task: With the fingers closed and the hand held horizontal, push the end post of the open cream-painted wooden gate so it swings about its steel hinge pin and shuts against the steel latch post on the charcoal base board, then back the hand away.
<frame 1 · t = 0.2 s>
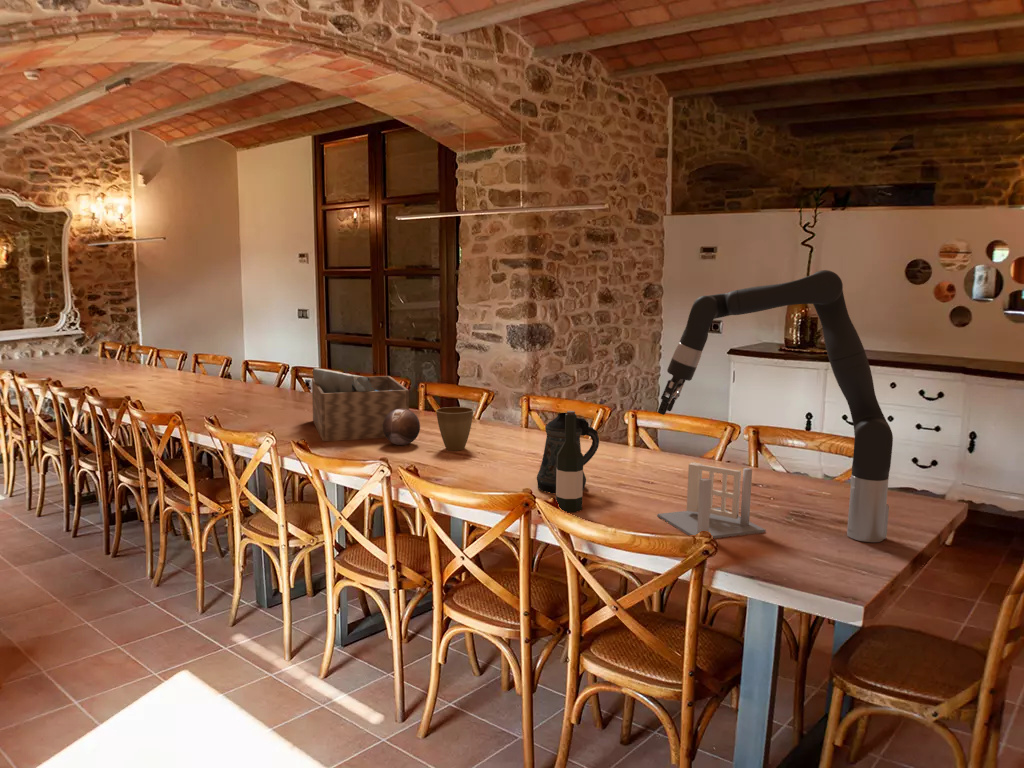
hand: (664, 411, 230), 31 cm above the table, tool tilted 20°, fingers open, 8 cm apart
gate: (713, 490, 227), point 9 cm above the table, hinge at -55.0°
wine bottle: (568, 509, 238), on the table
plant pot: (454, 449, 314), on the table
crate: (358, 428, 352), on the table
gate frame: (744, 527, 222), on the table
beer stein: (564, 487, 261), on the table
wooden sphere: (401, 445, 320), on the table
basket: (361, 427, 352), touching crate
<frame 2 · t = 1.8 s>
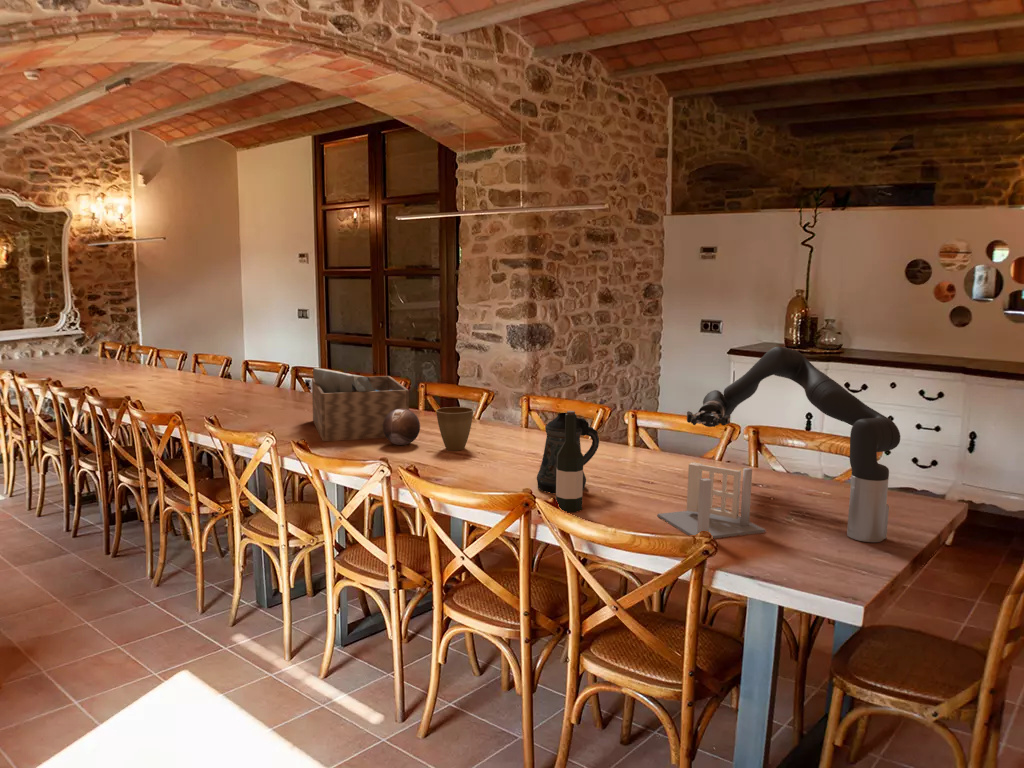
hand: (703, 422, 239), 26 cm above the table, tool horizontal, fingers open, 5 cm apart
nothing on the table moved.
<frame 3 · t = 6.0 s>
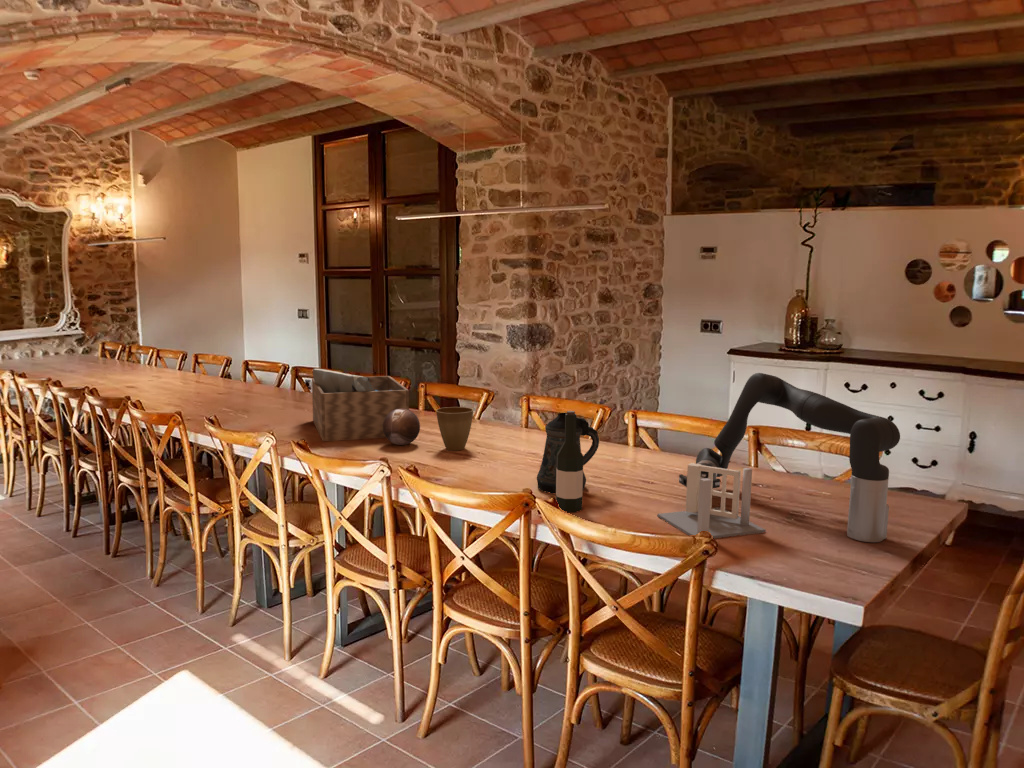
hand: (694, 488, 231), 8 cm above the table, tool horizontal, fingers closed
gate: (713, 491, 226), point 9 cm above the table, hinge at -51.8°, touching gripper
everything else where it was.
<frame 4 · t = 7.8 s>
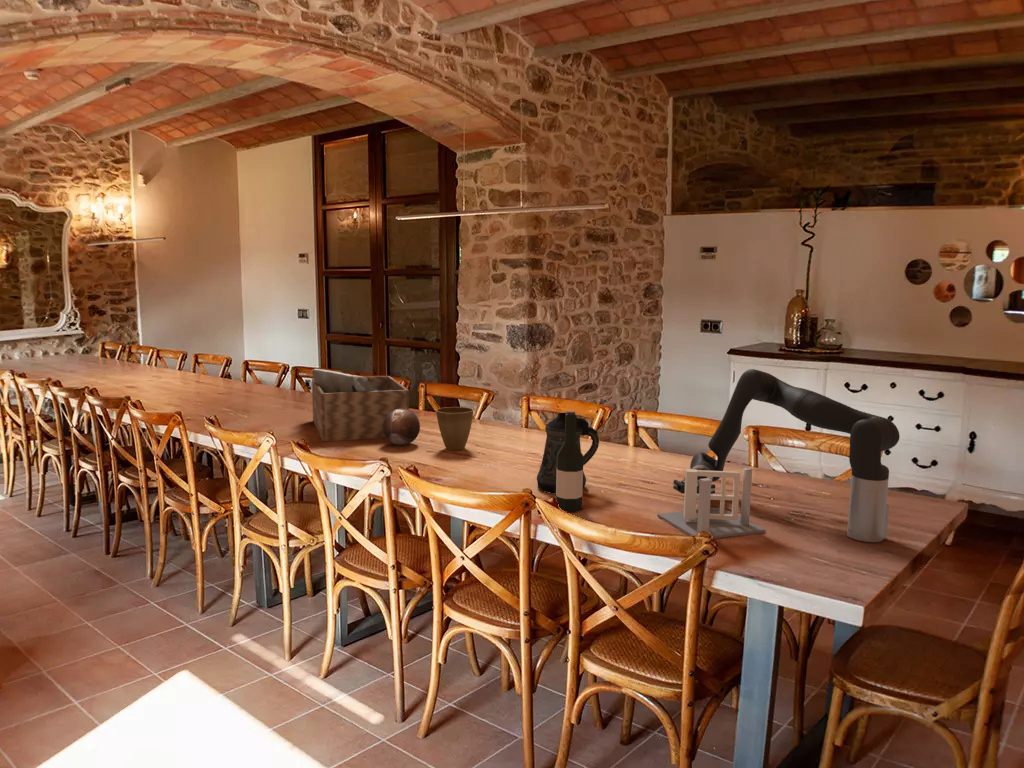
hand: (689, 494, 224), 8 cm above the table, tool horizontal, fingers closed
gate: (711, 495, 222), point 9 cm above the table, hinge at -25.1°, touching gripper
everything else where it was.
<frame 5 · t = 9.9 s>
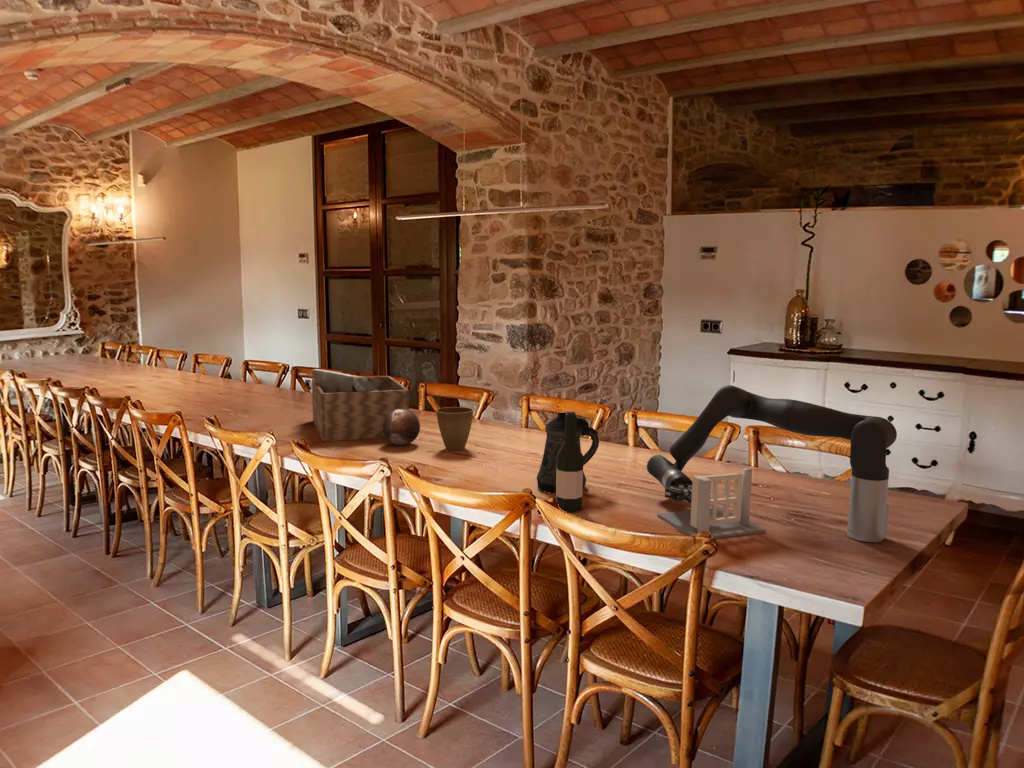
hand: (695, 501, 217), 8 cm above the table, tool horizontal, fingers closed
gate: (717, 499, 218), point 9 cm above the table, hinge at 0.9°
everything else where it was.
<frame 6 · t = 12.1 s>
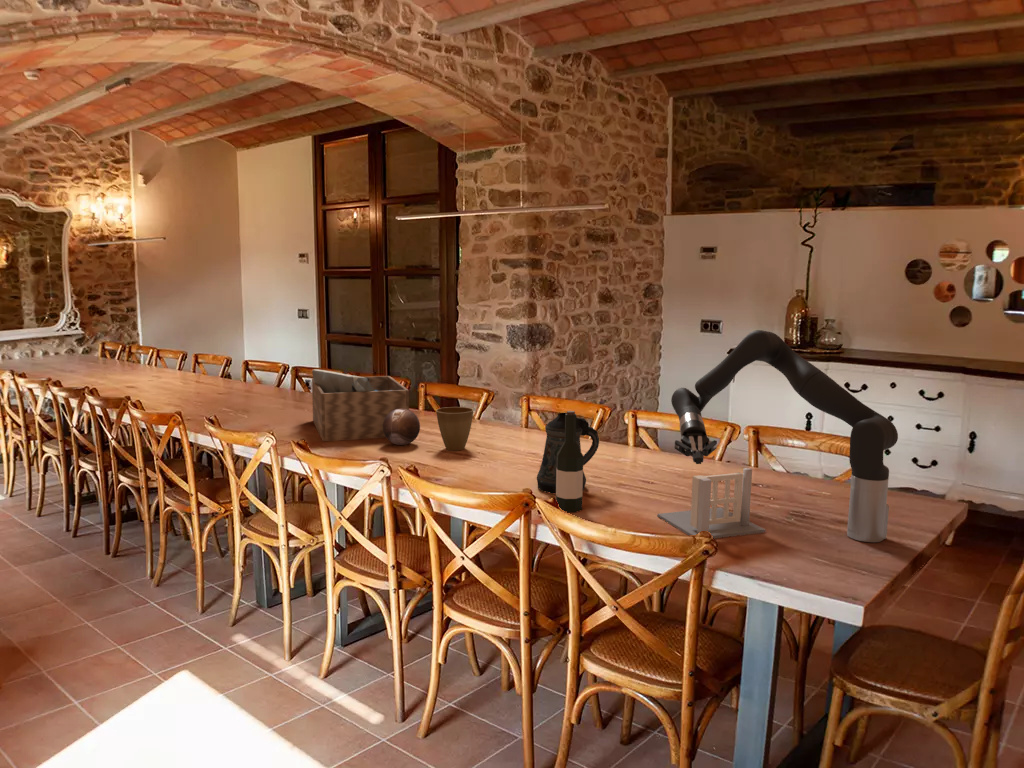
hand: (698, 461, 226), 18 cm above the table, tool tilted 70°, fingers closed
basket: (362, 428, 352), on the table, touching crate
everything else where it was.
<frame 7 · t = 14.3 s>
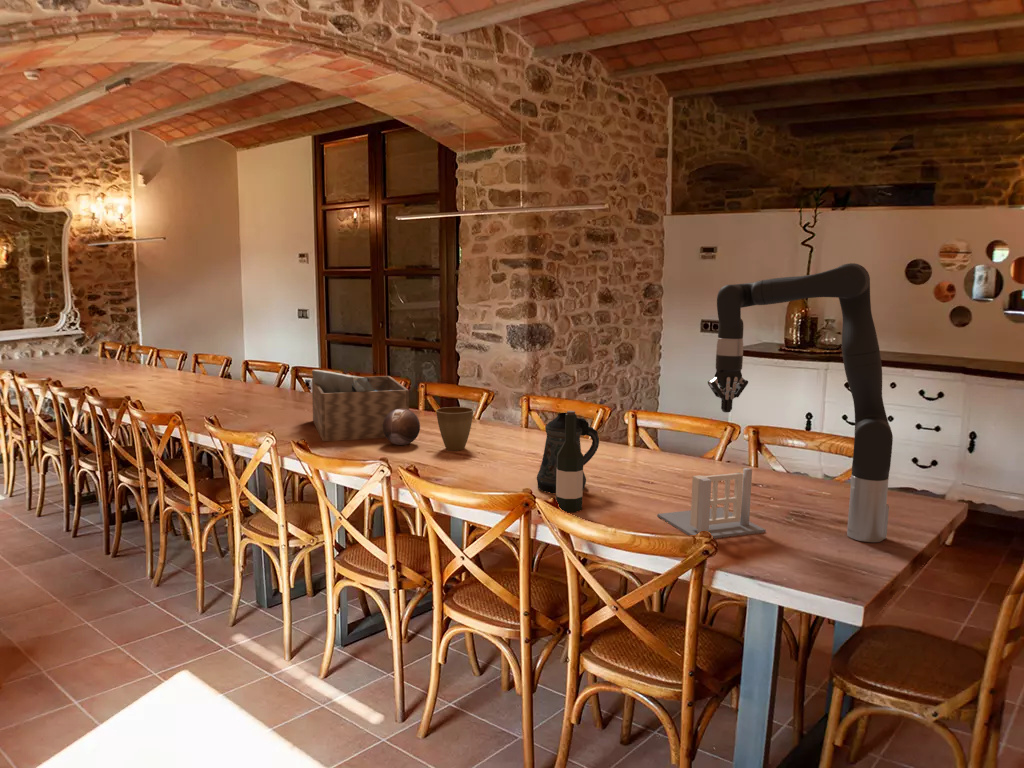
hand: (726, 411, 230), 31 cm above the table, tool pointing down, fingers closed
nothing on the table moved.
at the end: gate at +1° (first picture: -55°); gate touching nothing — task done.
